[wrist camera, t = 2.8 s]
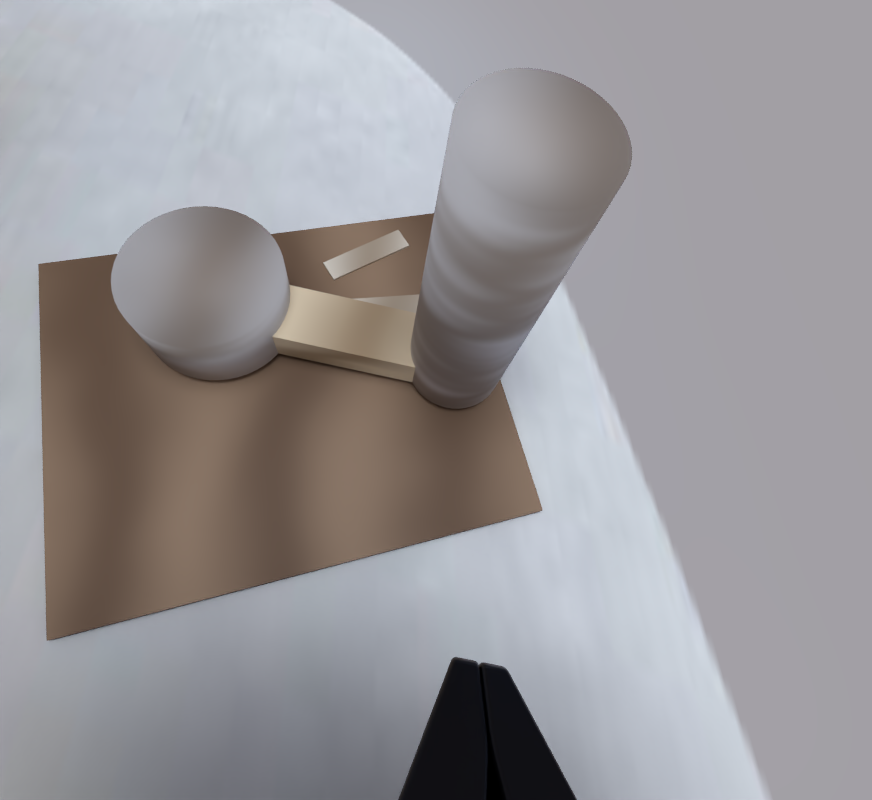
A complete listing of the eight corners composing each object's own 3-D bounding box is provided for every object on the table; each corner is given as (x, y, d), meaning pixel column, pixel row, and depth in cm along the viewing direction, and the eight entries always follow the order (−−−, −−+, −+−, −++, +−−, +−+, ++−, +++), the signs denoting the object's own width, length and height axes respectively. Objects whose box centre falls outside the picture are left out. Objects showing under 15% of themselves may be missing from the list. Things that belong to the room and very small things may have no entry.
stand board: (51, 639, 18) (45, 640, 17) (42, 268, 22) (37, 262, 22) (540, 511, 21) (543, 509, 21) (444, 215, 26) (445, 210, 26)
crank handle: (120, 362, 20) (-170, 84, 9) (175, 240, 23) (-8, -102, 12) (489, 439, 21) (626, 270, 10) (507, 315, 24) (636, 63, 12)
